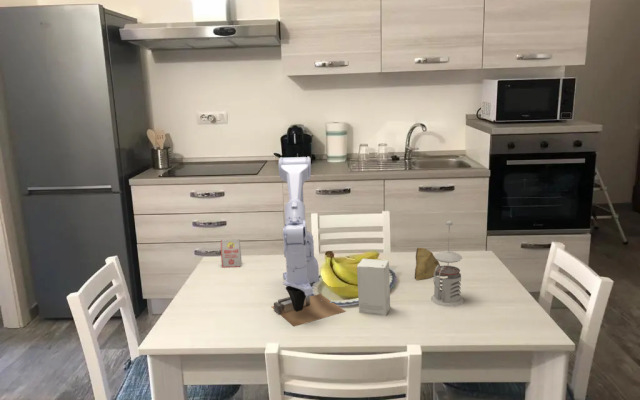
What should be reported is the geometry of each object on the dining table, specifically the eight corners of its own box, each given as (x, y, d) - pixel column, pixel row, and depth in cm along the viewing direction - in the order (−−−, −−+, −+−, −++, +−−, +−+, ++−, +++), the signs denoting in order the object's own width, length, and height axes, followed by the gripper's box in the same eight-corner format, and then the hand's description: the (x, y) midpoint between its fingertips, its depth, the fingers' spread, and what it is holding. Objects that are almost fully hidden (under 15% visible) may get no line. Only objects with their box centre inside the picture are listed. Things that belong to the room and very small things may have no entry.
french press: (469, 298, 159) (472, 219, 153) (450, 311, 151) (453, 228, 145) (441, 290, 166) (443, 214, 160) (421, 302, 158) (422, 223, 152)
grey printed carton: (223, 264, 195) (221, 238, 193) (241, 263, 195) (239, 238, 193) (222, 267, 191) (219, 241, 189) (240, 267, 192) (238, 241, 189)
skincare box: (390, 309, 153) (390, 259, 150) (385, 319, 147) (385, 267, 144) (363, 306, 156) (362, 257, 152) (357, 316, 150) (356, 265, 146)
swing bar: (307, 302, 158) (306, 293, 157) (311, 304, 156) (311, 296, 155) (280, 310, 153) (280, 301, 152) (284, 313, 151) (284, 304, 150)
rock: (441, 262, 183) (413, 258, 184) (446, 249, 177) (417, 245, 177) (441, 289, 177) (412, 285, 177) (447, 276, 170) (416, 272, 171)
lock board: (320, 296, 164) (320, 286, 163) (346, 314, 151) (345, 303, 150) (270, 310, 155) (269, 299, 155) (292, 330, 143) (292, 318, 142)
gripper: (272, 260, 150) (275, 304, 153) (295, 276, 138) (297, 323, 141) (294, 256, 154) (296, 298, 157) (318, 270, 141) (320, 316, 145)
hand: (298, 310), depth 149 cm, fingers closed
